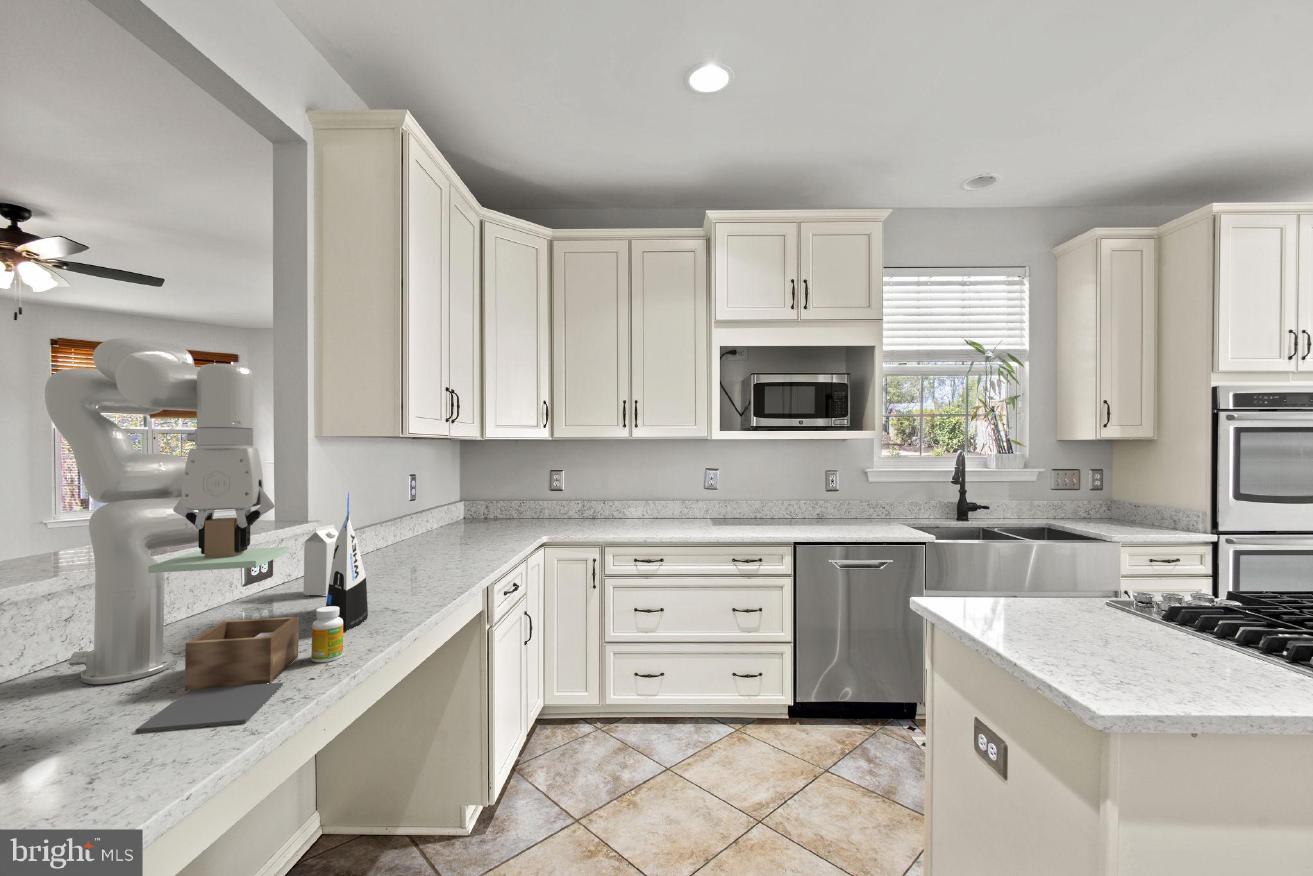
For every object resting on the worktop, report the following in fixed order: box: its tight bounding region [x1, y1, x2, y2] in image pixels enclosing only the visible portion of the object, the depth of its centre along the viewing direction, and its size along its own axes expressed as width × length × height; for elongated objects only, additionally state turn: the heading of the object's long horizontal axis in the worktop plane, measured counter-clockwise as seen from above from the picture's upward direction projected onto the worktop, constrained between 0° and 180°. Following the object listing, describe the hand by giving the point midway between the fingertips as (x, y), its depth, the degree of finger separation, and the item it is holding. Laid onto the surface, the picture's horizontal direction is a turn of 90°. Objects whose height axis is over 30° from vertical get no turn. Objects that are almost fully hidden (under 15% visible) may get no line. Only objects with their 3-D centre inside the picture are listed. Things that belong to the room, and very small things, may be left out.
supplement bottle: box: [310, 606, 344, 663], centre depth 114 cm, size 5×5×10 cm
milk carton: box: [303, 524, 339, 596], centre depth 164 cm, size 7×7×19 cm
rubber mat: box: [135, 682, 284, 734], centre depth 93 cm, size 14×14×1 cm
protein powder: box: [325, 492, 369, 633], centre depth 141 cm, size 10×24×30 cm, turn 27°
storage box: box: [184, 616, 300, 691], centre depth 107 cm, size 13×13×8 cm
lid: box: [148, 516, 290, 573], centre depth 95 cm, size 14×14×7 cm
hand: (224, 550), depth 94 cm, fingers closed on lid, 4 cm apart
